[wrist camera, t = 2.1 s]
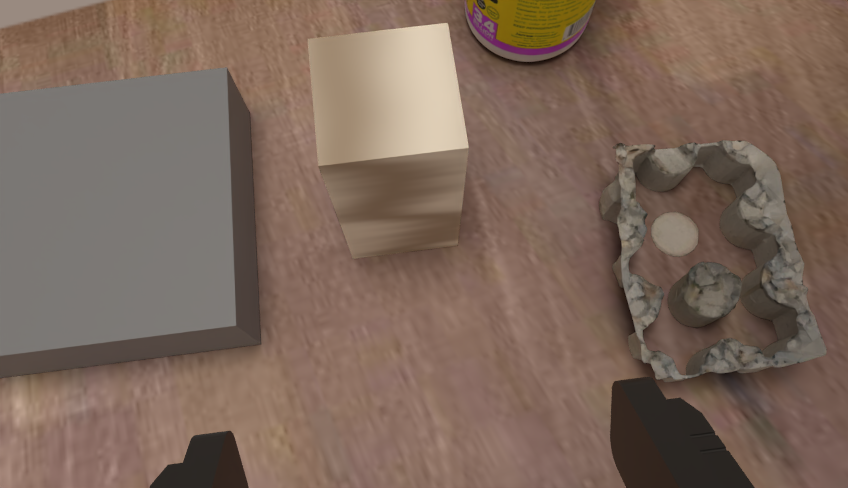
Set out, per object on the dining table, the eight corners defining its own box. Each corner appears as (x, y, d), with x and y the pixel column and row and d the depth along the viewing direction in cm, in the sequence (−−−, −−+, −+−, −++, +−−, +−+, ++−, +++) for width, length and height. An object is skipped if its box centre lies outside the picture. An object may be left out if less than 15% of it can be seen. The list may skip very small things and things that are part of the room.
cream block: (443, 151, 33) (447, 22, 23) (457, 245, 31) (468, 147, 22) (343, 163, 33) (307, 39, 23) (353, 259, 31) (318, 166, 22)
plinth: (249, 113, 34) (226, 67, 30) (260, 344, 30) (236, 325, 26) (12, 140, 33) (-42, 98, 30) (-8, 379, 29) (-73, 365, 26)
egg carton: (587, 172, 33) (608, 131, 29) (738, 163, 33) (778, 121, 29) (621, 389, 29) (650, 375, 25) (790, 379, 29) (844, 364, 25)
